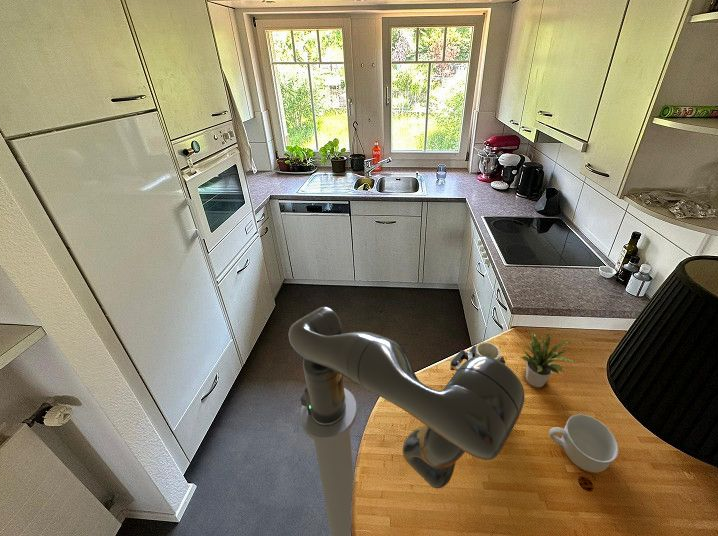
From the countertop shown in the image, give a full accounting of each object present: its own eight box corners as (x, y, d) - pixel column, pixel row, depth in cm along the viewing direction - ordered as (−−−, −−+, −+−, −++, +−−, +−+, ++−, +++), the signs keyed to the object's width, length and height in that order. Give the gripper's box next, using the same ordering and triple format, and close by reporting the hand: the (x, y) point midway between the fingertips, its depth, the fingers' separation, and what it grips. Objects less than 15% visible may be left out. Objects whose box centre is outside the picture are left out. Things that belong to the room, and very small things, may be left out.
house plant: (573, 381, 97) (589, 342, 90) (555, 412, 89) (571, 371, 81) (526, 355, 106) (537, 317, 99) (506, 380, 98) (517, 341, 90)
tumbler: (470, 382, 88) (474, 356, 83) (472, 364, 93) (477, 339, 89) (493, 389, 86) (499, 363, 81) (495, 370, 91) (501, 345, 87)
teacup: (604, 443, 81) (615, 424, 78) (611, 489, 73) (623, 470, 69) (544, 421, 87) (551, 402, 83) (543, 461, 78) (551, 441, 74)
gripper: (495, 404, 71) (519, 355, 83) (437, 371, 78) (466, 331, 90) (490, 425, 74) (513, 375, 86) (435, 391, 82) (463, 350, 94)
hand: (489, 353), depth 88 cm, fingers closed on tumbler, 6 cm apart
